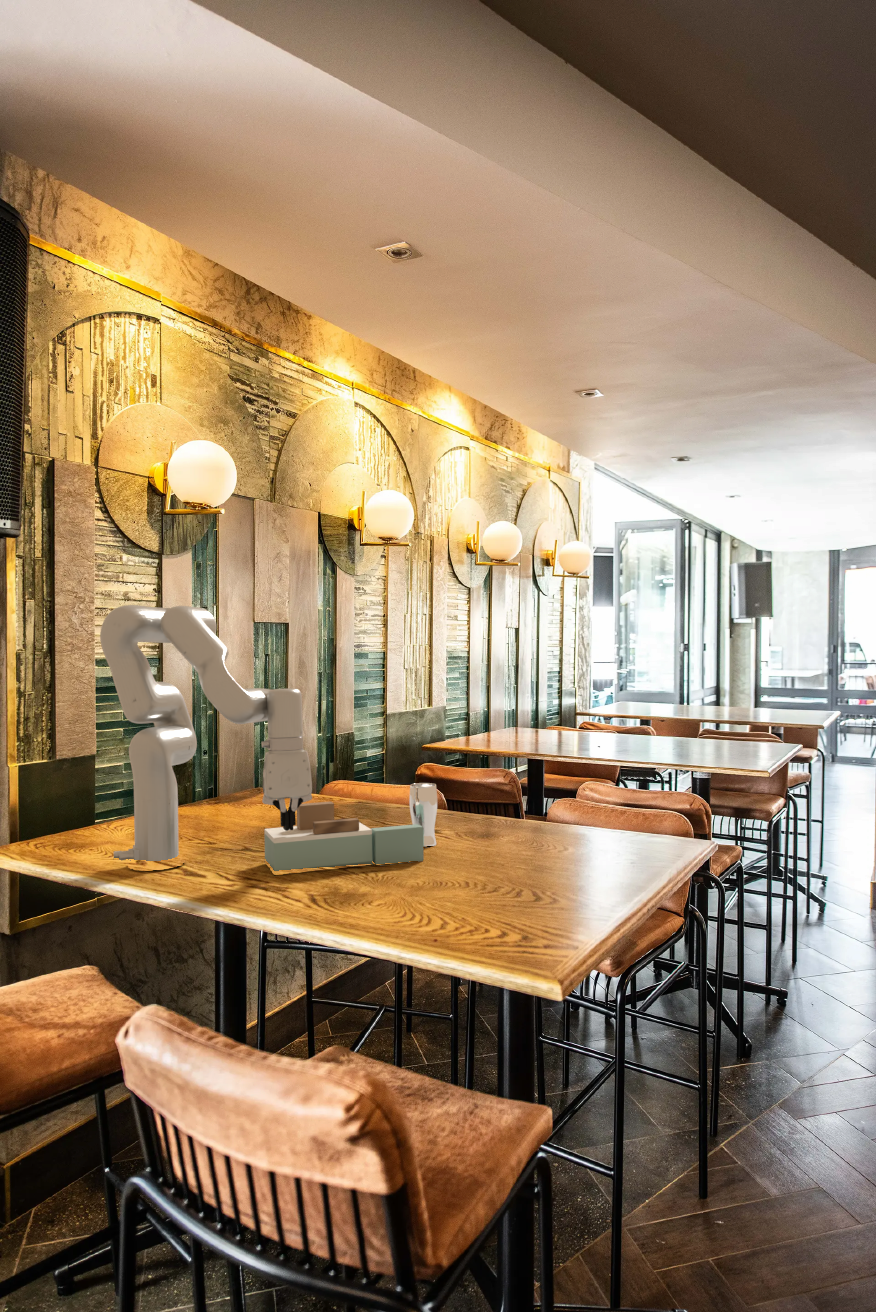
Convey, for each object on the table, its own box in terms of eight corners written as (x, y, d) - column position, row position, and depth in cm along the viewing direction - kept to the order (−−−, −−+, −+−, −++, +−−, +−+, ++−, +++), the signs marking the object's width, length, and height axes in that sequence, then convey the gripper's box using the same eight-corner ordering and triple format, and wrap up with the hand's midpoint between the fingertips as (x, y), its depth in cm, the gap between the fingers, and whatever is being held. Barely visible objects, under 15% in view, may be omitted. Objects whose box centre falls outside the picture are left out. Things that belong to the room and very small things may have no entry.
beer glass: (439, 842, 213) (438, 782, 214) (436, 848, 207) (435, 786, 207) (412, 841, 214) (411, 782, 214) (408, 847, 207) (407, 786, 207)
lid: (274, 848, 182) (273, 813, 182) (264, 838, 193) (264, 804, 193) (372, 839, 190) (371, 805, 190) (357, 830, 201) (356, 797, 201)
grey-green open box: (275, 876, 181) (274, 840, 181) (264, 863, 193) (264, 829, 193) (423, 860, 193) (423, 826, 194) (405, 849, 205) (404, 817, 205)
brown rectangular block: (315, 834, 185) (315, 823, 185) (312, 832, 187) (312, 821, 187) (359, 830, 189) (359, 819, 189) (356, 828, 191) (356, 818, 191)
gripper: (254, 748, 178) (256, 835, 178) (323, 744, 183) (325, 828, 183) (248, 745, 185) (250, 829, 185) (315, 741, 190) (317, 823, 190)
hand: (288, 829), depth 184 cm, fingers closed
